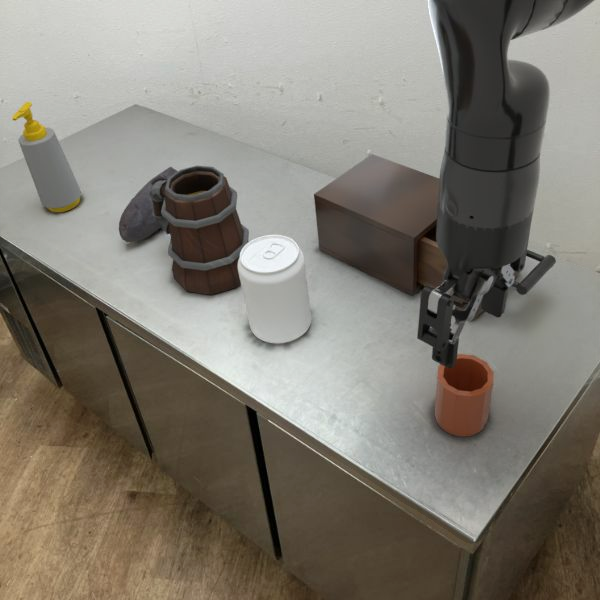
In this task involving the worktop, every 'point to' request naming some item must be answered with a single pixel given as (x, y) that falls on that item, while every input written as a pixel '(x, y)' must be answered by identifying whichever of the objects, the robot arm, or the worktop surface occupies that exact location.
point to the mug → (201, 228)
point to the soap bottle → (47, 164)
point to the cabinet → (378, 219)
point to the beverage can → (275, 288)
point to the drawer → (435, 264)
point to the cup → (464, 395)
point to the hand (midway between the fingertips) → (469, 336)
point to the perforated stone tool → (141, 212)
